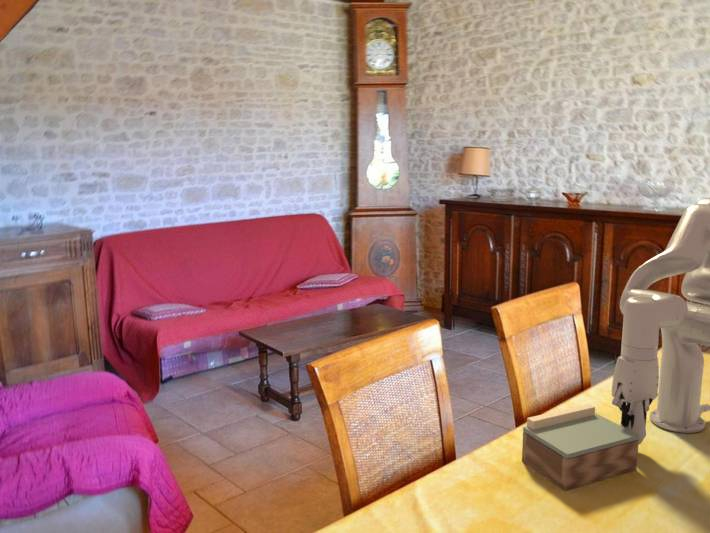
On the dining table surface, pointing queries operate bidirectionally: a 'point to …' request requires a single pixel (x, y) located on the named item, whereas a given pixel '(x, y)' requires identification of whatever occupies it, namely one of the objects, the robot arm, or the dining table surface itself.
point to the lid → (577, 431)
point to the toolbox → (579, 463)
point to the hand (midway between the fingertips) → (633, 426)
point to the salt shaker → (638, 421)
